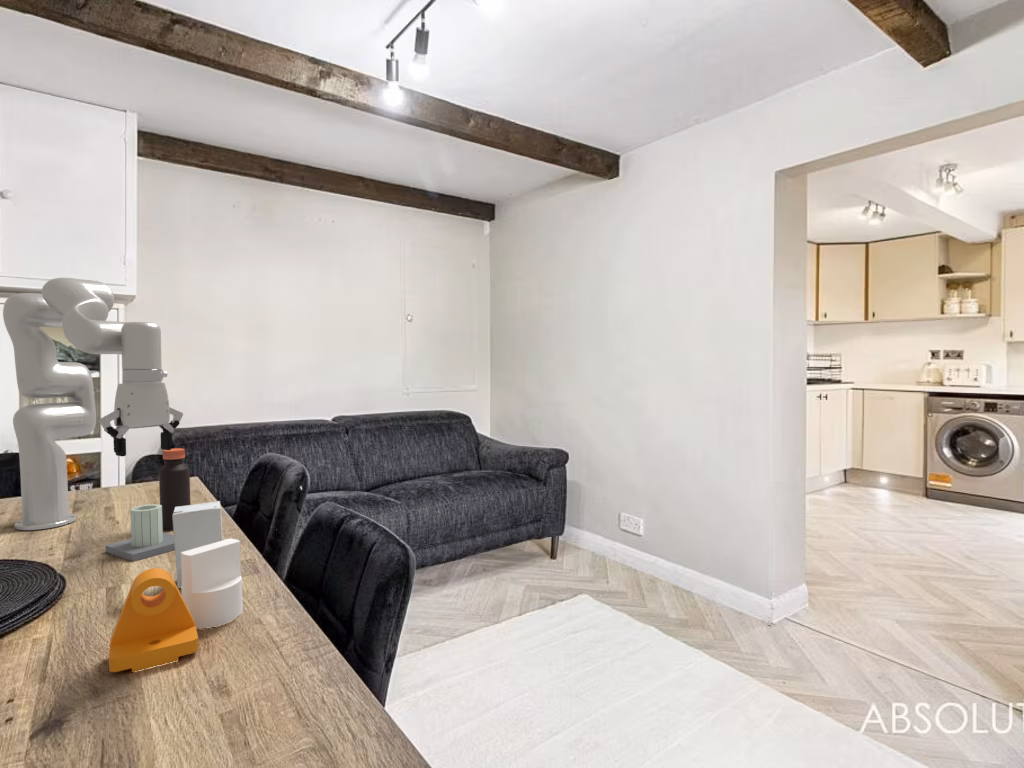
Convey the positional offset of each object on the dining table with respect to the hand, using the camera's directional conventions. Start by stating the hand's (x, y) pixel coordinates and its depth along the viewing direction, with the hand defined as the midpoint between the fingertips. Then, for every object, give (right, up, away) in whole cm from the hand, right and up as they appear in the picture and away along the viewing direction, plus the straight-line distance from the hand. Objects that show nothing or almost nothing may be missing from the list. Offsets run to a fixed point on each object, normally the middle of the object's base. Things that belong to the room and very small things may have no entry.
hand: (144, 452), depth 131 cm
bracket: (+31, -25, -47) cm, 61 cm away
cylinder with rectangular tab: (+33, -24, -34) cm, 53 cm away
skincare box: (+23, -23, -18) cm, 37 cm away
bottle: (-3, -22, +18) cm, 28 cm away
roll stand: (0, -22, +1) cm, 22 cm away
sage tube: (0, -21, +1) cm, 21 cm away
